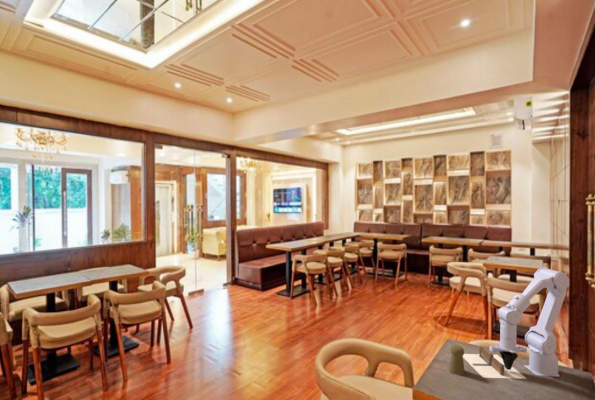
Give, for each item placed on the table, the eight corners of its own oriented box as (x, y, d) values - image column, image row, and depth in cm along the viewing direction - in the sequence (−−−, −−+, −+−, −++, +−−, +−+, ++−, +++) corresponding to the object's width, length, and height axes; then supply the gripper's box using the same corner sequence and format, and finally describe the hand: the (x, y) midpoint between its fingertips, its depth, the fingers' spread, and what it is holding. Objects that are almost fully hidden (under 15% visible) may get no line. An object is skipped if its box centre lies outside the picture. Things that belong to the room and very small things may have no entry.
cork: (461, 368, 135) (461, 343, 135) (467, 376, 129) (467, 350, 129) (446, 367, 135) (447, 342, 135) (452, 375, 129) (452, 349, 129)
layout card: (497, 355, 146) (497, 354, 146) (526, 379, 127) (526, 378, 127) (459, 354, 147) (459, 353, 147) (483, 378, 127) (483, 377, 127)
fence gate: (494, 366, 136) (494, 357, 136) (504, 375, 129) (504, 365, 129) (490, 366, 136) (491, 357, 136) (501, 375, 129) (501, 365, 129)
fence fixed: (482, 355, 145) (482, 345, 145) (494, 366, 136) (494, 355, 136) (478, 355, 145) (478, 345, 145) (490, 366, 136) (490, 355, 136)
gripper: (496, 340, 128) (496, 373, 128) (532, 341, 128) (532, 374, 128) (486, 333, 135) (486, 364, 135) (520, 333, 135) (520, 364, 135)
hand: (507, 368), depth 132 cm, fingers closed
